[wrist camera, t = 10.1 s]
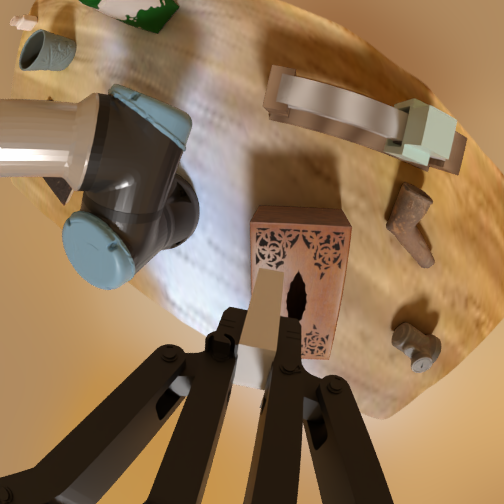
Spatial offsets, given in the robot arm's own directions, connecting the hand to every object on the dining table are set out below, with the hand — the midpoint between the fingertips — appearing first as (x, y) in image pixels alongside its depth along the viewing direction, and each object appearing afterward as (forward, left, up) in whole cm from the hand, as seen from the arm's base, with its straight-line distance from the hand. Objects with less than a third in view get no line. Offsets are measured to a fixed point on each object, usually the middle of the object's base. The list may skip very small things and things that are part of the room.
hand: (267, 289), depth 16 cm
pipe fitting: (+37, -23, -32) cm, 54 cm away
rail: (+9, +15, -32) cm, 36 cm away
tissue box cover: (+6, -15, -32) cm, 36 cm away
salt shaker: (-82, +41, -32) cm, 98 cm away
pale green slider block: (+15, +15, -27) cm, 34 cm away
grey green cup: (-58, +25, -32) cm, 71 cm away
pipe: (+25, +1, -32) cm, 41 cm away
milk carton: (-32, +31, -32) cm, 55 cm away
